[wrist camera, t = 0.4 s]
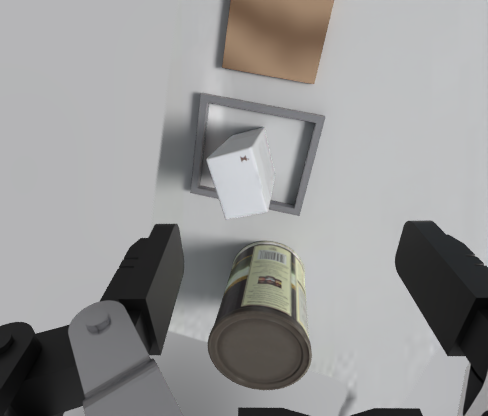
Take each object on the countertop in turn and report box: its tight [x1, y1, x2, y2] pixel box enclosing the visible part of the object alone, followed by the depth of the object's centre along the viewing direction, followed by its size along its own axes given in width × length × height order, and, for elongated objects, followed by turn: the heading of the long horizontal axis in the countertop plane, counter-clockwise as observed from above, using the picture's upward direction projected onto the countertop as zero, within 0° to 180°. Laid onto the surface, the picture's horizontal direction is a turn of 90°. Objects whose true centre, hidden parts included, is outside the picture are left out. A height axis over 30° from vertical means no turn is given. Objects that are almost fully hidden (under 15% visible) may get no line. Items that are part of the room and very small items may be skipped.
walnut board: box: [222, 0, 334, 84], centre depth 31 cm, size 10×10×1 cm
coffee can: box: [208, 241, 312, 390], centre depth 37 cm, size 10×10×14 cm
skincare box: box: [206, 127, 275, 220], centre depth 32 cm, size 6×4×12 cm
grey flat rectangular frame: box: [190, 93, 325, 216], centre depth 37 cm, size 12×14×1 cm
